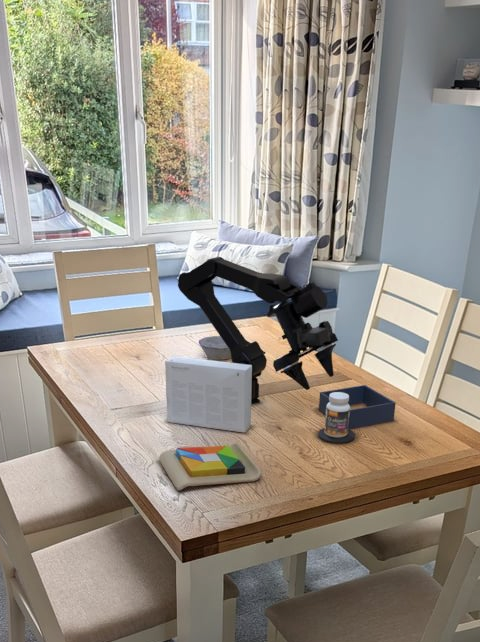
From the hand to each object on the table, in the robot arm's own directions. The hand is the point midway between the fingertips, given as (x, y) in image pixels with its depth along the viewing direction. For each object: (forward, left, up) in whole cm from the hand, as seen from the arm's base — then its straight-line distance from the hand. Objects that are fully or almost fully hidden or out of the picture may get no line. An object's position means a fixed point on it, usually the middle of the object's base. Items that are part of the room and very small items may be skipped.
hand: (320, 382), depth 187 cm
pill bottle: (-1, -11, -9) cm, 15 cm away
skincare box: (-27, +8, -10) cm, 30 cm away
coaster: (-1, -11, -10) cm, 15 cm away
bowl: (-3, +57, -10) cm, 58 cm away
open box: (+10, -2, -10) cm, 14 cm away
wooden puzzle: (-37, -16, -10) cm, 41 cm away
